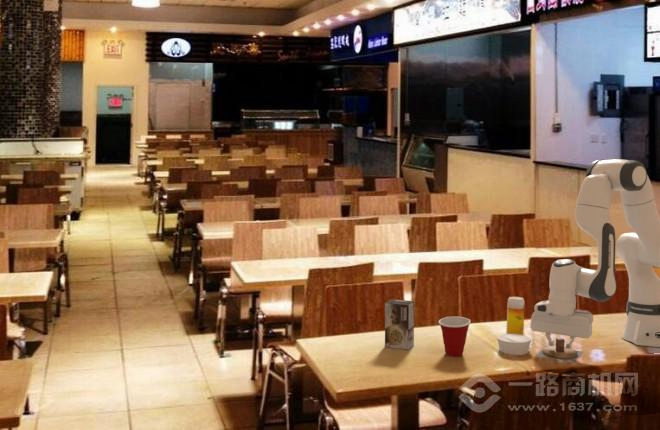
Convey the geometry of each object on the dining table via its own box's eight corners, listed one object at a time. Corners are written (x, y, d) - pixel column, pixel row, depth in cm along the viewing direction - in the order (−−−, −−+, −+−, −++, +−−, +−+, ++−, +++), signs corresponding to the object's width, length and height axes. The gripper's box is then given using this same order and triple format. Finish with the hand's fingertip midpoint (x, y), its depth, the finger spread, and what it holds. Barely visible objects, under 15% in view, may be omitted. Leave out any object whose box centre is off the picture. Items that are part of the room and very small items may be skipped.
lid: (580, 351, 264) (581, 337, 264) (573, 360, 254) (574, 346, 254) (546, 346, 270) (547, 332, 269) (538, 355, 260) (539, 341, 259)
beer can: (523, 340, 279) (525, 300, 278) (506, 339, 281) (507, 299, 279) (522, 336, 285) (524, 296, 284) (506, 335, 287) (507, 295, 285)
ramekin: (492, 354, 263) (493, 339, 263) (503, 346, 273) (503, 331, 272) (524, 359, 257) (525, 344, 257) (534, 351, 267) (535, 336, 266)
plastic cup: (431, 353, 263) (431, 319, 262) (453, 347, 270) (453, 314, 268) (454, 361, 255) (455, 326, 253) (476, 355, 261) (477, 321, 260)
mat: (583, 353, 265) (583, 351, 264) (574, 363, 253) (574, 361, 253) (545, 347, 271) (545, 345, 271) (535, 357, 260) (535, 355, 260)
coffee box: (414, 345, 272) (415, 301, 270) (408, 350, 267) (409, 304, 265) (390, 342, 276) (391, 298, 274) (383, 346, 270) (384, 302, 268)
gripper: (595, 309, 258) (593, 349, 259) (534, 301, 268) (533, 340, 270) (591, 313, 252) (589, 354, 254) (529, 305, 262) (528, 344, 264)
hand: (560, 346), depth 262 cm, fingers open, 5 cm apart
